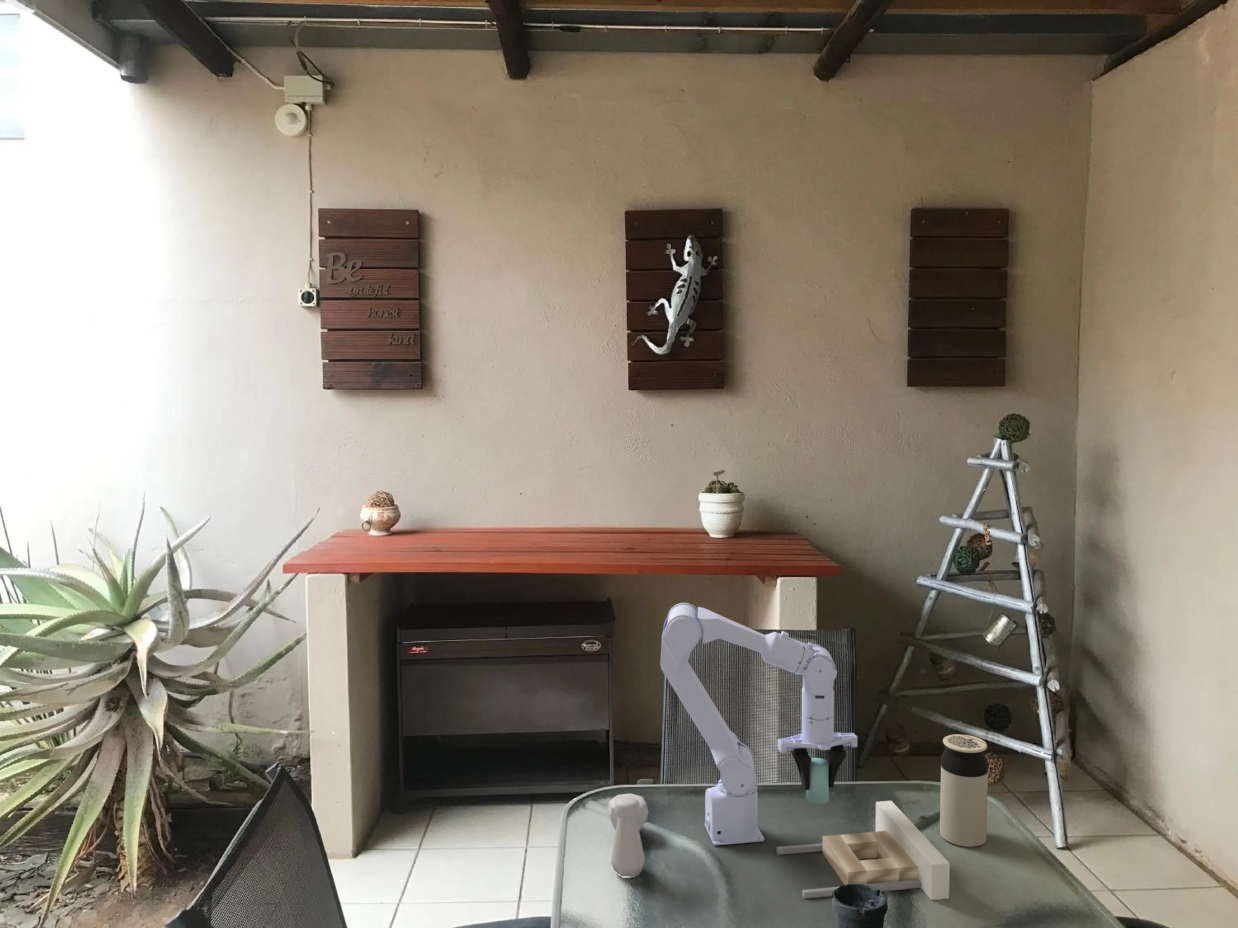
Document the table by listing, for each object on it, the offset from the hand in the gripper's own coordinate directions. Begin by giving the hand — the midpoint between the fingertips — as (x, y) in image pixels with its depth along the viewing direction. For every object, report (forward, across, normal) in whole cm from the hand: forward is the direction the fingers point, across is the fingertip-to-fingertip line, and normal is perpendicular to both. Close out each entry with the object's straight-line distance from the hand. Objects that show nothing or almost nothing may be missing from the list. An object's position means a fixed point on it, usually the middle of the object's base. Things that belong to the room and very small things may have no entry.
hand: (817, 786), depth 167 cm
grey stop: (+9, +2, -12) cm, 15 cm away
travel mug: (+10, +26, -5) cm, 28 cm away
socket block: (+9, +5, -12) cm, 16 cm away
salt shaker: (+10, -36, -6) cm, 38 cm away
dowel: (+2, 0, 0) cm, 2 cm away
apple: (+10, -34, +8) cm, 36 cm away
